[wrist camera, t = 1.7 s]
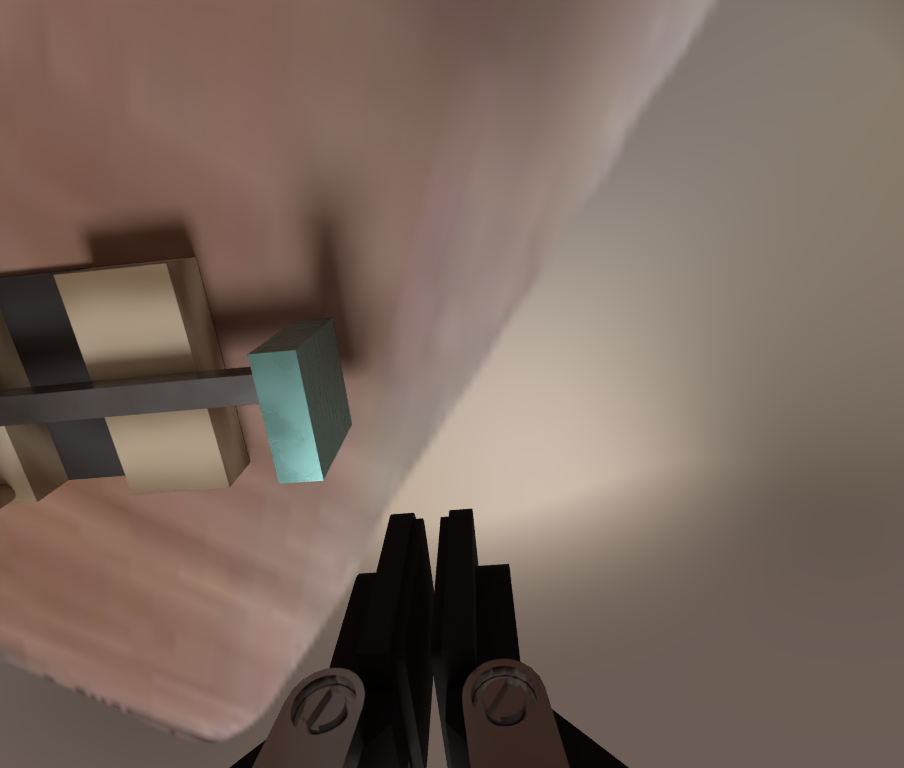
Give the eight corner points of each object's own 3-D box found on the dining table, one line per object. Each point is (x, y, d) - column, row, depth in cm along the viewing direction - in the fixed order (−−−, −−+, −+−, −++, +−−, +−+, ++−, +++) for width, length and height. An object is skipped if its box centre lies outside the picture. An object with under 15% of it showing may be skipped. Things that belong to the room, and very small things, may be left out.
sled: (-239, 348, 28) (-420, 386, 22) (327, 292, 26) (288, 318, 20) (-160, 486, 31) (-301, 551, 25) (355, 445, 29) (328, 505, 23)
